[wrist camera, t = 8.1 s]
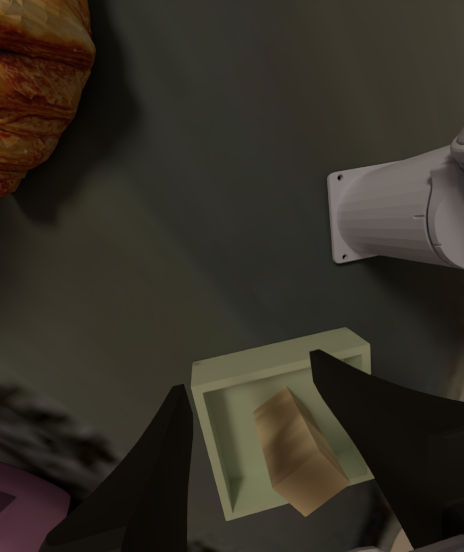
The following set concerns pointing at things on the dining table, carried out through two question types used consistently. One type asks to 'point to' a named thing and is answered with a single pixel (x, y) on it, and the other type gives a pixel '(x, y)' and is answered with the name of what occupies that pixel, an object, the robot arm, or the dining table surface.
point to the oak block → (297, 453)
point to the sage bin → (256, 391)
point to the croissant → (39, 79)
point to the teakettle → (28, 509)
